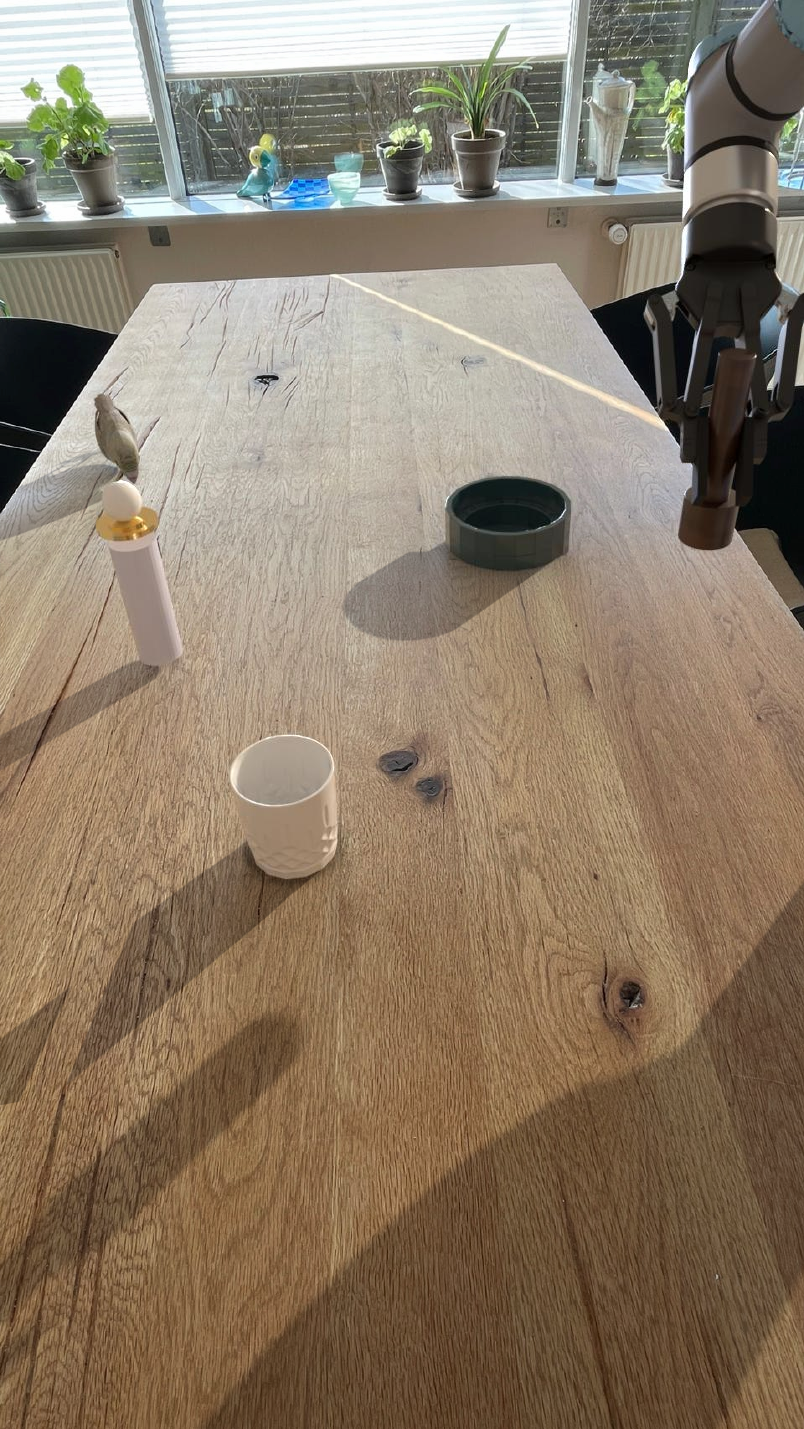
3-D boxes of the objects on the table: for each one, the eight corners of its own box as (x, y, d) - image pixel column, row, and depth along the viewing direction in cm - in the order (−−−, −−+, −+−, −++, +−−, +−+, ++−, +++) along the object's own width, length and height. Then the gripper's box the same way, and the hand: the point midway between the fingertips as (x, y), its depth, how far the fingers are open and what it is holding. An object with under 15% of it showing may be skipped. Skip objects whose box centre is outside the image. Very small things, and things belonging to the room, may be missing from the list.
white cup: (305, 911, 73) (290, 821, 67) (228, 871, 77) (206, 782, 70) (364, 845, 78) (354, 756, 72) (289, 810, 82) (273, 722, 75)
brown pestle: (728, 525, 85) (763, 343, 75) (735, 551, 81) (773, 364, 71) (675, 524, 85) (703, 343, 75) (680, 550, 82) (710, 364, 72)
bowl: (567, 521, 118) (570, 476, 114) (568, 583, 107) (571, 536, 103) (451, 519, 120) (451, 475, 116) (441, 580, 109) (440, 533, 105)
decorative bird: (115, 489, 130) (101, 437, 126) (94, 446, 142) (81, 397, 137) (154, 480, 132) (142, 429, 127) (130, 438, 144) (119, 390, 139)
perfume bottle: (190, 670, 98) (148, 493, 85) (133, 678, 97) (82, 501, 84) (190, 639, 102) (149, 465, 89) (135, 646, 101) (87, 473, 89)
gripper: (814, 249, 82) (809, 516, 80) (626, 252, 84) (616, 513, 82) (844, 194, 74) (839, 487, 72) (636, 199, 76) (626, 484, 74)
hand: (721, 500), depth 77 cm, fingers closed on brown pestle, 3 cm apart
